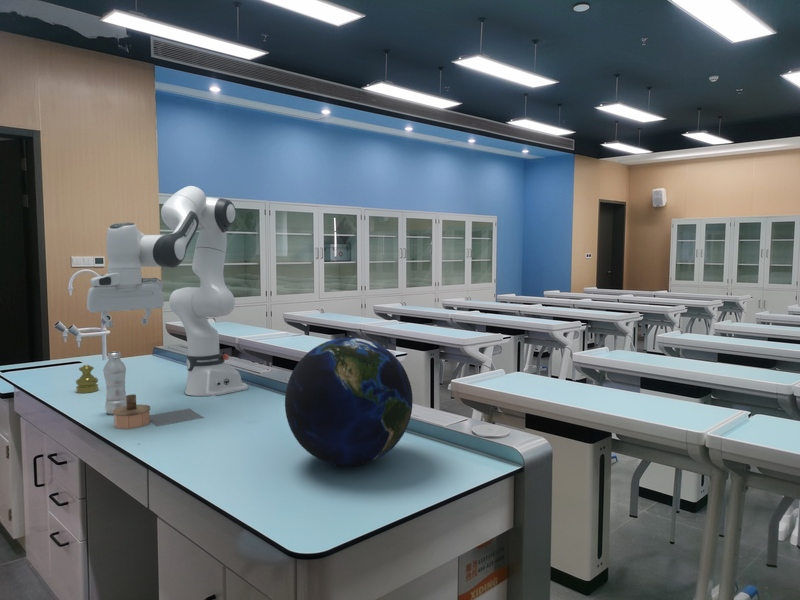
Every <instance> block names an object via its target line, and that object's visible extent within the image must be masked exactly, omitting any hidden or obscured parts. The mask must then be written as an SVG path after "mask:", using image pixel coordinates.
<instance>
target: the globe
mask: <svg viewBox="0 0 800 600" xmlns="http://www.w3.org/2000/svg"><path fill="white" fill-rule="evenodd" d="M412 390H413V389H412V385H411V382H410V379H409V375H408V373H407V372H406V370H405V368H404V366H403V365H402V362H400V360H398V358H397V357H396V356H395V355H394V354H393V353H392V352H391V351H390V350H388V349H387V348H385V347H384V346H383V345H381V344H378V343H377V342H374V341H372V340H369V339H366V338H361V337H353V336H351V337H339V338H334V339H331V340H328V341H325V342H323V343H321V344H318V345H317V346H314V348H312V349H311V350H309V351H308V352H307V353H306V354H305V355H304V356H303V357H302V358H301V359H300V360H299V361H298V363H297V364H296V366H295V367H294V369H293V370H292V372H291V375H290V376H289V378H288V382H287V384H286V390H285V394H284V395H285V396H284V410H285V417H286V420H287V423H288V426H289V429H290V431H291V433H292V435H293V436H294V438H295V440H296V441H297V443H299V445H300V446H301V447H302V448H303V449H304V450H305V451H306V452H307V453H309V454H310V455H312V456H313V457H315V458H316V459H317V460H320V461H322V462H324V463H327V464H330V465H335V466H339V467H340V466H341V467H354V466H362V465H365V464H368V463H372V462H374V461H376V460H378V459H380V458H382V457H383V456H384V455H386V454H388V453H389V452H390V451H391V450H393V448H394V447H395V446H396V445H397V444H398V443H399V442H400V440H401V439H402V437H403V436H404V435H405V433H406V431H407V428H408V426H409V423H410V421H411V417H412V413H413V391H412Z"/></svg>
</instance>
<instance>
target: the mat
mask: <svg viewBox="0 0 800 600" xmlns="http://www.w3.org/2000/svg"><path fill="white" fill-rule="evenodd" d="M149 415H150V423H152V424H153V425H154V426H155V427H161V426H166V425H170V424H171V425H172V424H177V423H183V422H188V421H194V420H199V419H204V418H205V417H204V416H202V415H201V414H200V413H198V412H196V411H194V410H192V409H191V408H185V409H179V410H173V411H167V412H161V413H155V414H149Z"/></svg>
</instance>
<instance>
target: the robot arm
mask: <svg viewBox="0 0 800 600" xmlns="http://www.w3.org/2000/svg"><path fill="white" fill-rule="evenodd" d="M236 214H237V212H236V207H235V205H234V203H233V202H232V201H231V200H230V199H225V198H222V197H221V198H216V197H210V196H209V197H207V196H206V194H205V192H204V191H203V190H202V189H201V188H199V187H198V186H194V185H188V186H185V187H183V188H181V189H179V190H178V191H176V192H175V193H174V194H172V195H171V196H170V197H169V198H167V200H166V201H165V202H164V203H163V204H162V206H161V210H160V216H161V219H162V221H163V223H164V224H165V225H166V227H167V228H169V229H170V230H172V231H173V232H171V233H166V234H165V233H164V234H145V233H143V232H142V231H140V230H139V229H138V225H137V223H134V222H118V223H114V224H110V225H109V226H108V228H107V232H106V239H105V241H106V246H105V247H106V255H107V259H108V263H107V264H108V265H107V273H104V274H100V275H98V276H94V277H92V278H90V282H89V283H90V285H91V287H90V288H89V289H88V291H87V298H86V310H87V311H89V313H94V314H95V313H101V314H100V315H101V317H102V318H103V320H104V321H105V326H106V328H107V329H108V328H113V327H114V321H113V320H110V319H109V318H108V317H107V316H109V313H110V312H120V311H121V312H122V311H123V312H124V311H139V310H140V311H141V310H144V313H145V315H144V317H143V318H140V320H141V323H140V324H141V325H142V326H143V325H149V318H150V316H151V314H152V309H153V310H154V309H162V307H164V305H165V304H164V297H163V292H162V291H164V285H163V284H164V283H163V281H162V280H161V279H160V278H158V277H143V276H142V267H148V268H150V267H152V268H154V267H156V268H157V267H158V268H160V267H162V268H177V267H178V266H180V265H181V263H183V261H184V259H185V257H186V254H187V249H188V247H189V246H190V245H191V242H192V240H193V239H194V237H195V235H196V233H197V231H198V229H200V230H199V233H198V235H197V239H196V243H195V249H194V254H193V257H192V259H193V260H192V264H191V269H192V272H193V273H194V274H195V275H196V277H197V276H198V277H199V280H200V281H199V282H200V285H199V286H186V287H182V288H178V289H175V290H174V291H172V293H171V294H170V296H169V307H170V308H169V309H170V310H171V311H172V312H173V313H174V314H175V315H176V316H177V317H178V318H179V320H180V322H181V324H182V325H183V327H184V330H185V333H186V334H185V335H186V344H187V354H186V370H187V378H186V379H187V381H186V387H185V391H184V394H185V395H186V396H187V395H188V396H192V397H193V396H200V397H202V396H203V397H204V396H205V397H212V396H215V397H216V396H220V395H221V396H222V395H226V394H230V393H235V392H241V391H244V390H248V389H249V386H248V385H249V384H247V383H245V382H243V381H242V377H241V373H240V372H239V371H238V370H237V369H235V368H234V367H232V366H231V365H230V364H228V363H227V362H225V361H228V360H229V359H230V357H229V354H226V353H224V354H223V353H222V352H220V334H219V332H218V330H217V329H216V328H215V327H213V326H212V325H211V324H210V322H209V320H208V318H221V317H224V316H225V317H226V316H228V315H230V314H231V313H232V312H233V310H234V307H235V303H236V302H235V296H234V294H233V293H232V291H231V290H230V289H229V288H228V287H227V285H226V283H225V278H224V269H225V267H224V266H225V259H226V254H227V242H228V240H227V239H228V238H227V237H228V235H227V234H228V233H227V231H228V230H229V229H230V228H231V227H232V226H233V224H234V222H235V220H236V216H237V215H236Z"/></svg>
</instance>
